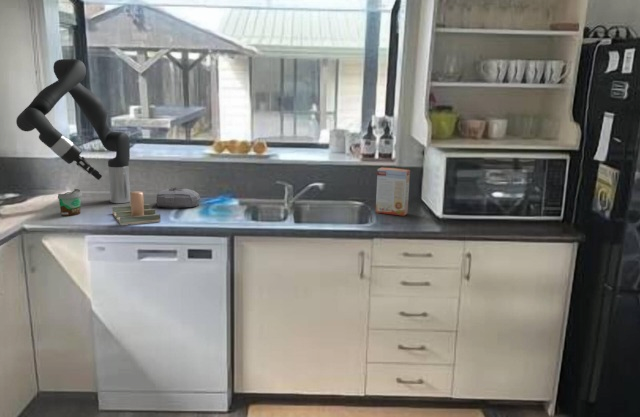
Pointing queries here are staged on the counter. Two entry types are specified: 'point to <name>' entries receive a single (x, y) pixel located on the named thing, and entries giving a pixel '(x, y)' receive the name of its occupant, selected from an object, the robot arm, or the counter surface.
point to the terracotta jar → (137, 203)
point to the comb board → (125, 216)
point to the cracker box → (392, 191)
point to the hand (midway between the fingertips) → (98, 176)
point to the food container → (70, 203)
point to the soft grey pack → (177, 198)
